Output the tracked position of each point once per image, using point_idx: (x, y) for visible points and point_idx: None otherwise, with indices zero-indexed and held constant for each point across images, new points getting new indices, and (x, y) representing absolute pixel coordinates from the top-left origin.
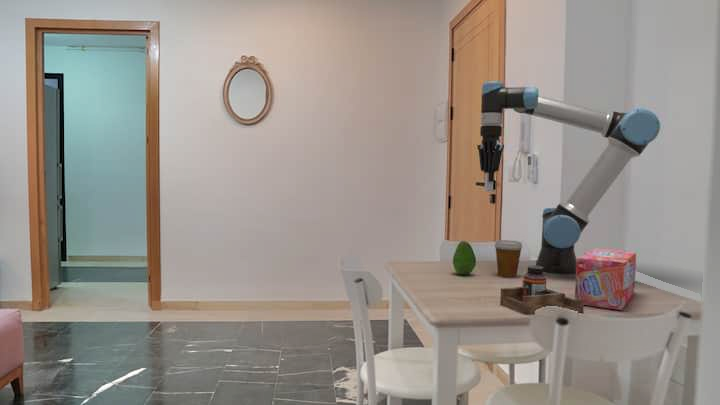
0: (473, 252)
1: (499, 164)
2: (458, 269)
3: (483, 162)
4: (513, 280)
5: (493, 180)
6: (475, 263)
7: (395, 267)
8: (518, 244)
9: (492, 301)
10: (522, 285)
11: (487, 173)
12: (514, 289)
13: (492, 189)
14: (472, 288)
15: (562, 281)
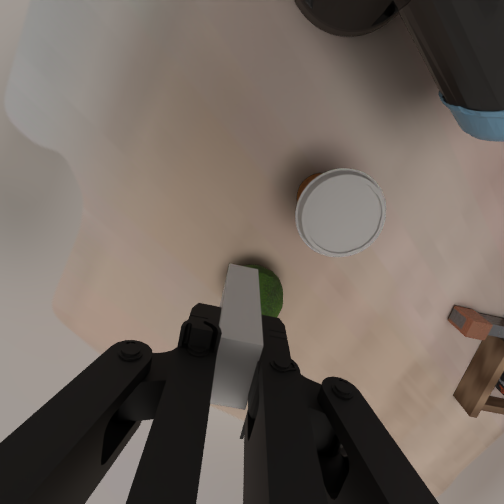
0: (277, 297)
1: (401, 453)
2: None
3: (88, 481)
4: None
5: (282, 327)
6: (279, 280)
7: None
8: (385, 218)
9: (433, 391)
10: (458, 329)
11: (245, 405)
12: (486, 398)
13: (257, 277)
14: (353, 355)
15: (449, 122)
